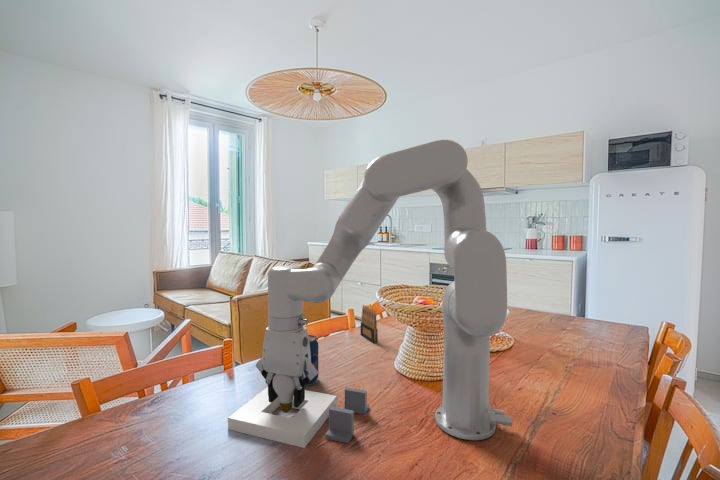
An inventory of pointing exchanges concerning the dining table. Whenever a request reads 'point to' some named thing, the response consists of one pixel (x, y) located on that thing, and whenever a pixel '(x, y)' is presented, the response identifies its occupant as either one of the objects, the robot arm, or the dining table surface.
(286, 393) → the light bulb
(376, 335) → the colored pencil box
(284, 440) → the socket board
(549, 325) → the dining table surface
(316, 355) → the soda can
